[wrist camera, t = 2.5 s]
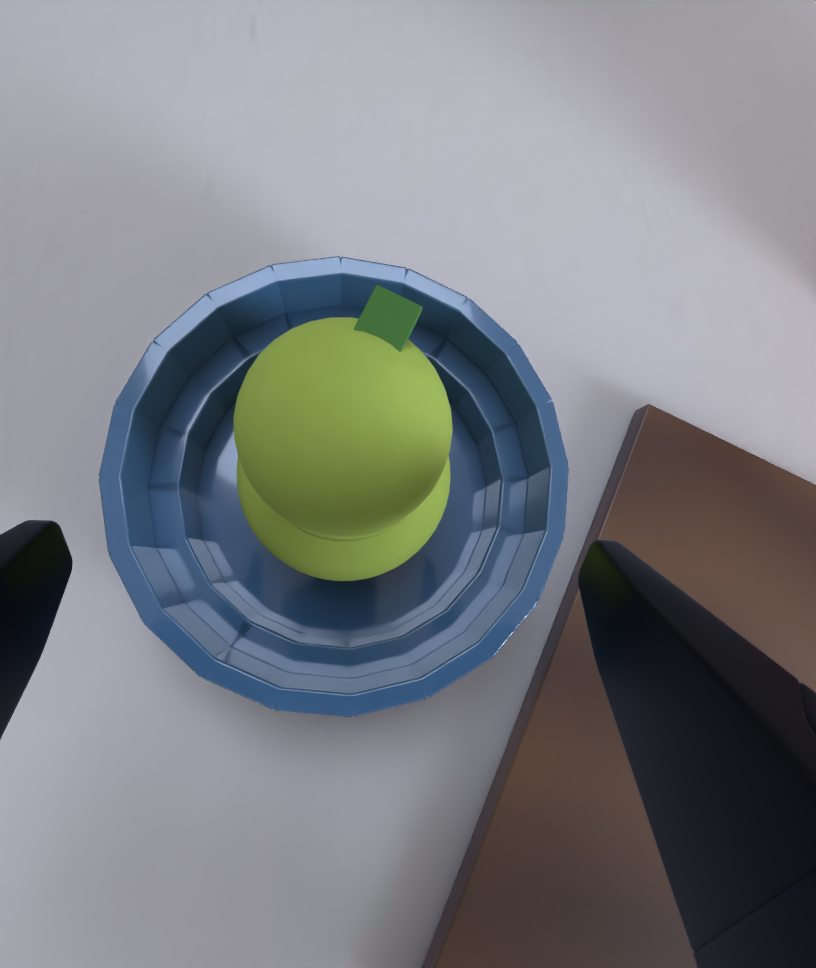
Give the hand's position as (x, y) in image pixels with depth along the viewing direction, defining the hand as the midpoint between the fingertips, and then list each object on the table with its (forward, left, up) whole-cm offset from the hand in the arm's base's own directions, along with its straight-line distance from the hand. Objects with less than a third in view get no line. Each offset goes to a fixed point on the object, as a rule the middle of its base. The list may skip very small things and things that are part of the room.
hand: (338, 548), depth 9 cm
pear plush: (+2, +1, -10) cm, 10 cm away
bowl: (+2, +1, -10) cm, 11 cm away
